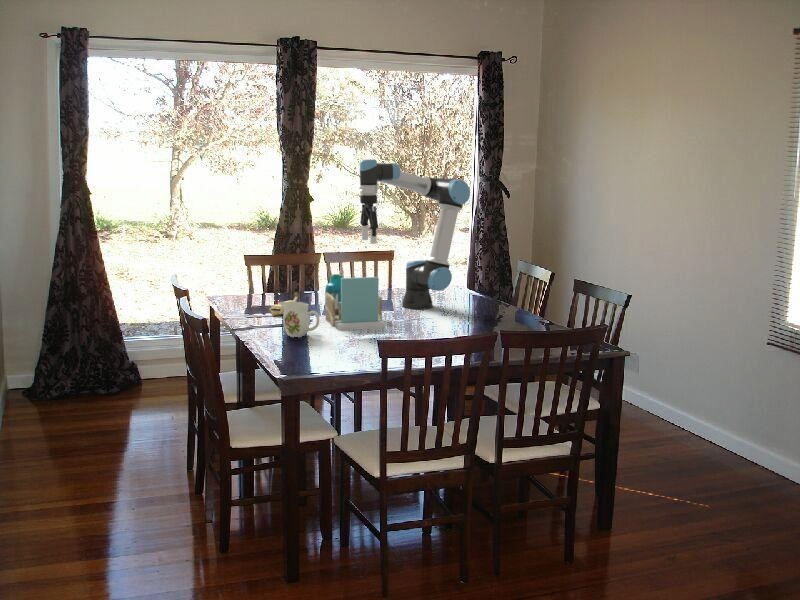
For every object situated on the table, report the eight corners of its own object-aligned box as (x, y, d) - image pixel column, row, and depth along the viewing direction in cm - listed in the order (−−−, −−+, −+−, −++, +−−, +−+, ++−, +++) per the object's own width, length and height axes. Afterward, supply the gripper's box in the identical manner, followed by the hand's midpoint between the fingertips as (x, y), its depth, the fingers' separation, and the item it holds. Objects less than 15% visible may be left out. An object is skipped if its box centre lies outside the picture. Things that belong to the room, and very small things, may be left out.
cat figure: (287, 308, 395) (264, 314, 371) (288, 291, 394) (264, 295, 370) (306, 310, 392) (283, 315, 368) (306, 292, 391) (283, 297, 367)
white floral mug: (315, 340, 325) (314, 307, 323) (273, 337, 329) (273, 304, 327) (323, 334, 336) (323, 302, 333) (283, 331, 340) (282, 299, 337)
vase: (344, 318, 368) (344, 277, 365) (322, 317, 370) (322, 276, 367) (350, 313, 378) (350, 273, 375) (328, 312, 380) (328, 272, 377)
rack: (372, 320, 365) (373, 291, 363) (381, 327, 351) (382, 297, 348) (325, 322, 359) (325, 292, 356) (332, 329, 345) (332, 299, 342)
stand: (379, 327, 350) (379, 318, 350) (384, 331, 343) (384, 322, 343) (334, 329, 345) (334, 320, 344) (338, 333, 338) (338, 324, 337)
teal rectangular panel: (376, 326, 347) (377, 276, 343) (378, 327, 345) (378, 277, 341) (340, 328, 343) (340, 278, 338) (341, 329, 341) (341, 278, 337)
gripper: (353, 192, 367) (353, 238, 371) (368, 196, 344) (368, 245, 348) (368, 192, 369) (369, 238, 373) (385, 196, 346) (385, 244, 350)
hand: (369, 241), depth 361 cm, fingers open, 13 cm apart
